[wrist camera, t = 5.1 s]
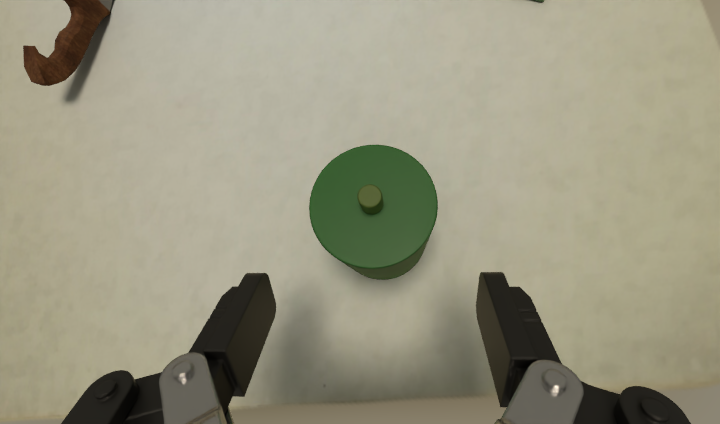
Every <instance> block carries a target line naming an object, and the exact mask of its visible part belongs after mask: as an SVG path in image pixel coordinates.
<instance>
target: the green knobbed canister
mask: <svg viewBox="0 0 720 424" xmlns="http://www.w3.org/2000/svg"><path fill="white" fill-rule="evenodd" d="M437 209H438V202H437V194H436V190H435V187H434V184H433V181H432V179H431V177H430V176H429V174H428V172H427V171H426V169H425V168H424V167H423V166H422V165H421V164H420V163H419V162H418V161H417V160H416V159H415V158H413V157H412V156H411V155H409V154H407V153H405V152H404V151H402V150H399V149H396V148H394V147H389V146H384V145H366V146H360V147H356V148H353V149H351V150H348V151H346V152H344V153H342V154H340V155H339V156H337V157H336V158H335V159H333V160H332V161H331V162H330V163H329V164H328V165H327V166H326V167H325V168H324V169H323V170H322V172H321V173H320V175H319V176H318V178H317V180H316V182H315V184H314V187H313V189H312V192H311V197H310V205H309V210H310V219H311V224H312V227H313V230H314V232H315V234H316V236H317V238H318V240H319V241H320V243H321V244H322V246H323V247H324V248H325V249H326V250H327V251H328V252H329V253H330V254H331V255H333V256H334V257H335V258H337V259H338V260H340V261H341V262H343V263H345V264H346V265H348V266H349V267H351V268H352V269H354V270H355V271H357V272H358V273H360V274H362V275H364V276H366V277H369V278H373V279H382V280H384V279H391V278H395V277H398V276H401V275H403V274H404V273H406V272H408V271H409V270H410V269H411V268H413V267H414V266H415V264H416V263H417V262H418V261H419V259H420V257H421V256H422V253H423V251H424V249H425V246H426V244H427V242H428V239H429V237H430V234H431V232H432V230H433V227H434V225H435V221H436V217H437Z"/></svg>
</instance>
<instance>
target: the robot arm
mask: <svg viewBox="0 0 720 424" xmlns="http://www.w3.org/2000/svg"><path fill="white" fill-rule="evenodd" d="M275 313H276V302H275V298H274V294H273V291H272V287H271V284H270V280H269V277H268V275H267V274H266V273H247V274H245V276H244V277H243V279H242V281H241V283H240V284H239V286H238V287H232V288H231V289H230V290H228V291H227V292H226V293H225V294H224V295H223V296H222V297H221V299H220V300H219V302H218V304H217V306H216V309H214V311H213V312H212V314H211V316H210V319H208V321H207V322H206V324H205V326H204V327H203V329H202V331H201V332H200V334H199V336H198V338H197V339H196V341H195V343H194V344H193V346H192V348H191V349H190V351H189V353H187V354H184V355H181V356H179V357H177V358H176V359H174V360H173V361H171V362H170V363H169V364H168V365H167V366H166V367H165V369H164V370H163V372H161V373H158V374H154V375H150V376H146V377H143V378H139V379H134V378H133V376H132V375H131V374H130V373H129V372H128V371H123V370H120V371H114V372H111V373H108V374H106V375H104V376H102V377H101V378H99V379H98V380H96V381H95V382H94V383H93V384H91V385H90V386H89V387H88V389H87V390H86V391H85V392H84V394H83V395H82V396H81V398H80V399H79V400H78V402H77V403H76V404H75V406H74V407H73V408H72V410H71V411H70V412H69V414H68V415H67V416H66V418H65V419H64V421H63V422H62V423H61V424H234V422H233V418H232V415H231V412H230V409H229V407H228V406H229V403H230V401H231V399H232V396H241V397H244V396H245V393H246V391H247V388H248V385H249V383H250V380H251V378H252V375H253V372H254V370H255V367H256V365H257V362H258V359H259V357H260V354H261V352H262V349H263V346H264V344H265V341H266V339H267V336H268V333H269V331H270V328H271V326H272V323H273V320H274V318H275ZM476 313H477V320H478V324H479V327H480V331H481V335H482V339H483V342H484V346H485V350H486V354H487V358H488V361H489V365H490V369H491V373H492V376H493V380H494V384H495V388H496V391H497V395H498V399H499V403H500V407H507V408H506V410H505V412H504V414H503V416H502V418H501V419H500V420H499V419H498V420H497V421H496V422H495V424H691V423H690V422H689V420H688V419H687V417H686V416H685V414H684V413H683V411H682V410H681V409H680V408H679V407H678V406H677V405H676V404H675V403H674V402H673V401H672V400H670V399H669V398H667V397H666V396H664V395H663V394H661V393H659V392H657V391H655V390H652V389H650V388H646V387H640V386H632V387H628V388H626V389H625V390H623V391H622V393H621V395H620V394H616V393H613V392H610V391H607V390H603V389H600V388H596V387H593V386H591V385H588V384H586V383H584V382H582V381H580V380H579V378H578V377H577V376H576V375H575V373H573V372H572V371H571V370H570V369H569V368H567V367H566V366H564V365H562V363H561V361H560V359H559V357H558V355H557V353H556V351H555V349H554V347H553V344H552V342H551V340H550V338H549V336H548V334H547V332H546V329H545V327H544V325H543V323H542V322H541V319H540V317H539V314H538V312H536V308H535V306H534V304H533V302H532V299H531V297H530V296H528V295H527V294H526V293H525V292H524V291H523V290H522V289H521V288H520V287H509V285H508V283H507V280H506V278H505V275H504V274H503V273H502V272H481V273H480V277H479V285H478V293H477V301H476Z"/></svg>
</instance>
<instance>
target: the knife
mask: <svg viewBox="0 0 720 424" xmlns="http://www.w3.org/2000/svg"><path fill="white" fill-rule="evenodd" d="M64 1H65V2H66V3H67V4H68V6H69V7H70V11H71V19H70V21H69V23H68V25H67V26H66V28H64V29H63V30H62V31H60V32H59V34H58V36H57V38H56V40H55V50H54V51H53V53H52V54H51V55H50V56H49V57H48V58H47V57H45V56H43V55H41V54H40V53H39V52H38V50H37V49H36V47H35V46H23V49H24V67H25V69H26V72H27V74H28V76H29V78H30V80H31V82H33V83H36V84H39V85H42V86H50V85H53V84H57V83H59V82H62V81H64V80H66V79H67V78H68V77H69V76H70V75H71V74H72V73H73V72H74V71H75V70H76V69H77V67H78V66H79V64H80V63H81V61H82V59H83V57H84V54H85V52H86V50H87V48H88V46H89V43H90V41H91V39H92V36H93V34H94V32H95V30H96V28H97V27H98V25H99V23H100V22H101V21H102V20H103V19H104V18H105V17H106V16H107V15H109V14H110V13H111V12H110V9H111V5H112V0H64Z"/></svg>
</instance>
